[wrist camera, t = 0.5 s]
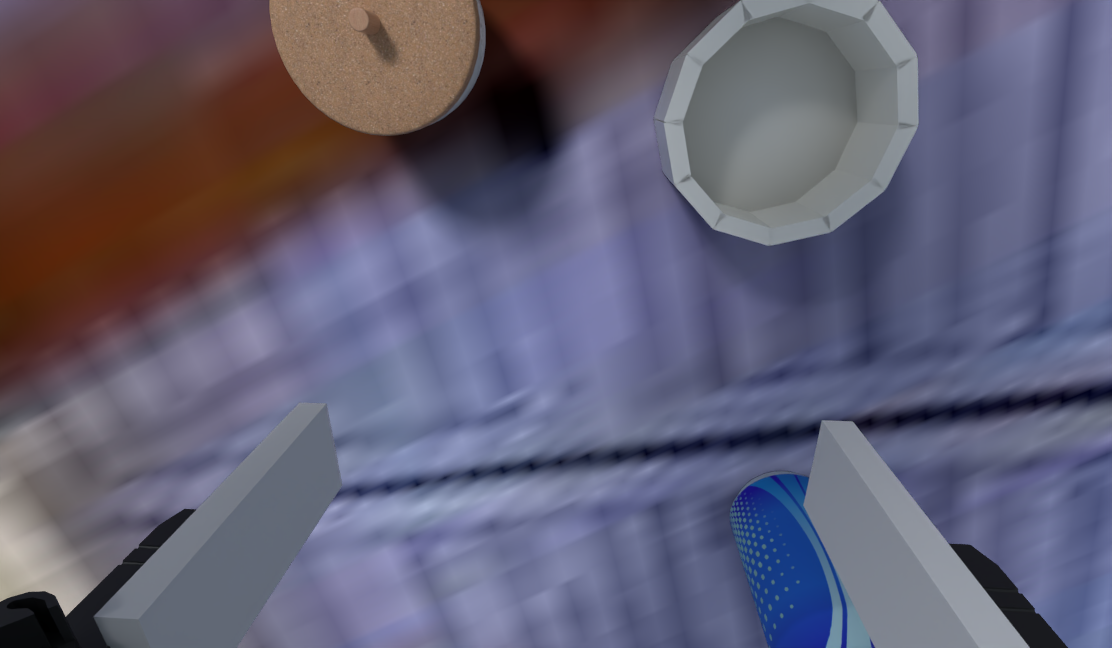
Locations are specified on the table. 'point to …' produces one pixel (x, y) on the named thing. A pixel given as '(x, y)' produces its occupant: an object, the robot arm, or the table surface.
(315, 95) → the lidded jar
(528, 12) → the table surface
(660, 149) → the bowl
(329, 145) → the table surface
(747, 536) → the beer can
